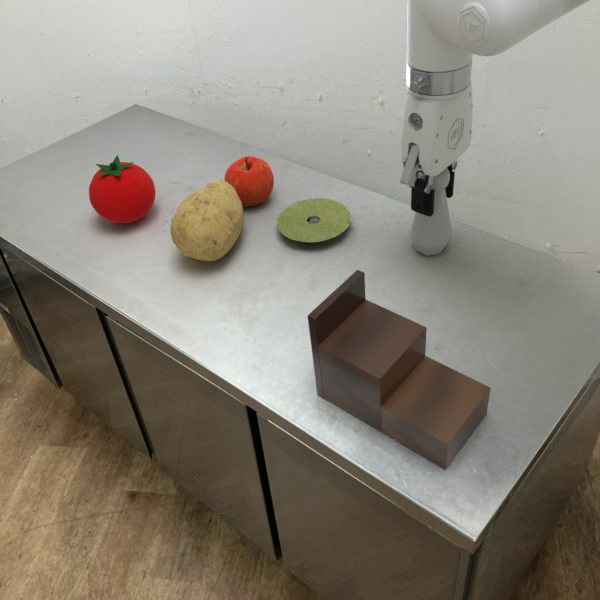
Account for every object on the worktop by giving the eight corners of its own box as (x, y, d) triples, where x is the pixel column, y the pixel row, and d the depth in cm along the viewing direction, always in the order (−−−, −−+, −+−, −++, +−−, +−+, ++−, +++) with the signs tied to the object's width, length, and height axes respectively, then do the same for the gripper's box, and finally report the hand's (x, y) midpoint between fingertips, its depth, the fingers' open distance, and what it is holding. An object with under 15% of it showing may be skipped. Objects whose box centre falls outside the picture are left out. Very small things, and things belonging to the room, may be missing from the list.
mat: (363, 216, 100) (363, 206, 99) (331, 259, 94) (330, 248, 92) (300, 202, 105) (299, 191, 104) (265, 241, 98) (263, 231, 97)
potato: (160, 262, 97) (144, 209, 91) (224, 212, 105) (213, 161, 99) (209, 284, 92) (195, 231, 86) (272, 231, 100) (264, 178, 94)
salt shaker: (456, 241, 94) (463, 162, 85) (440, 263, 91) (446, 184, 82) (419, 230, 97) (422, 153, 88) (402, 252, 93) (403, 174, 84)
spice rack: (486, 413, 71) (499, 331, 63) (445, 469, 67) (453, 389, 58) (361, 349, 80) (357, 269, 71) (317, 395, 76) (307, 315, 67)
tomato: (152, 191, 112) (136, 139, 105) (169, 221, 105) (154, 168, 98) (92, 211, 109) (73, 159, 102) (106, 243, 102) (86, 189, 95)
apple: (276, 184, 110) (270, 141, 104) (276, 211, 104) (270, 168, 98) (230, 188, 110) (221, 146, 105) (227, 216, 104) (218, 173, 99)
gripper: (427, 111, 70) (422, 244, 82) (501, 53, 79) (487, 182, 91) (370, 96, 74) (373, 226, 86) (447, 43, 82) (440, 167, 95)
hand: (432, 202), depth 88 cm, fingers closed on salt shaker, 4 cm apart
